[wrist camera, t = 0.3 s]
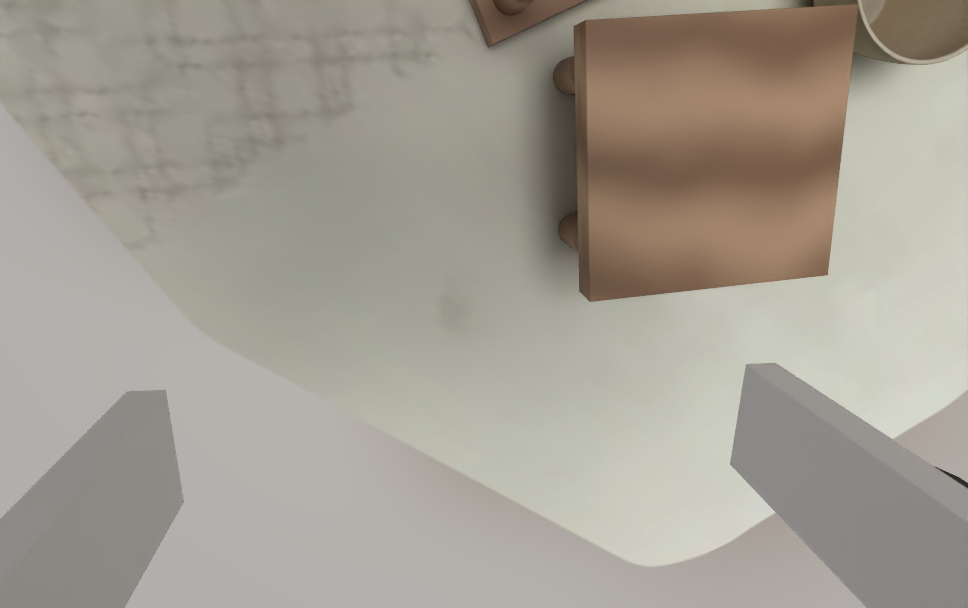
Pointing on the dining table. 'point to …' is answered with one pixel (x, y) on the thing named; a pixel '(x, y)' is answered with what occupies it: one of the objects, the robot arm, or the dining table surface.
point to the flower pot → (909, 29)
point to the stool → (706, 147)
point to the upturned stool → (515, 15)
